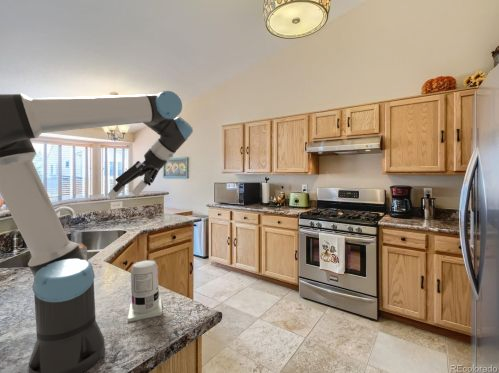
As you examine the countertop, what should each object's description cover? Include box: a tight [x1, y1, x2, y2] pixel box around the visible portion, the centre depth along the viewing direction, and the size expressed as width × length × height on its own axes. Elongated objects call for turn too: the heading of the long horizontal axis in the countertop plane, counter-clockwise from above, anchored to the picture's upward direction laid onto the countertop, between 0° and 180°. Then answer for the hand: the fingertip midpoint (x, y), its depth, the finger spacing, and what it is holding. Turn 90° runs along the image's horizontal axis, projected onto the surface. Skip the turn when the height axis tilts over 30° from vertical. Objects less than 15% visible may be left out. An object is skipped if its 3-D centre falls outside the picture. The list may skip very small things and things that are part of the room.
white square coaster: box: [127, 297, 163, 322], centre depth 83 cm, size 10×10×1 cm
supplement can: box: [130, 259, 160, 313], centre depth 83 cm, size 8×8×15 cm
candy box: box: [77, 242, 89, 262], centre depth 109 cm, size 9×4×15 cm, turn 45°
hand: (123, 195), depth 94 cm, fingers open, 13 cm apart
